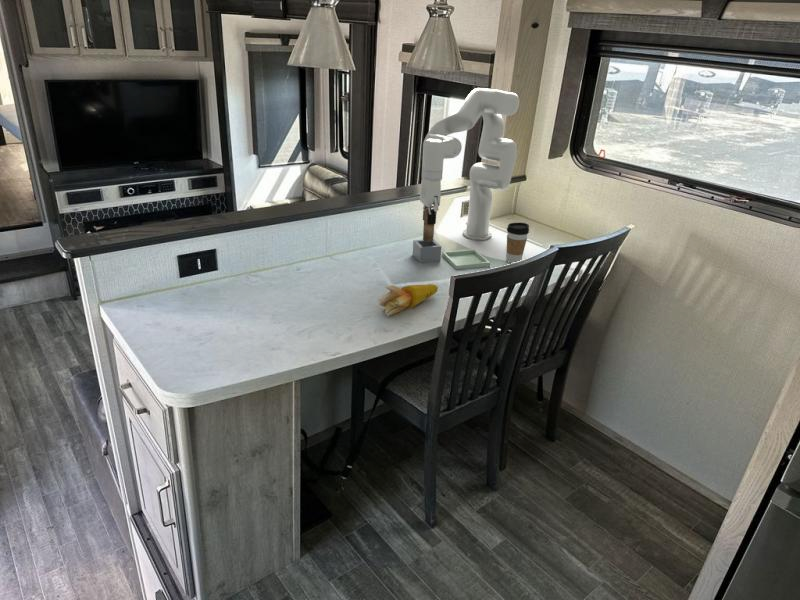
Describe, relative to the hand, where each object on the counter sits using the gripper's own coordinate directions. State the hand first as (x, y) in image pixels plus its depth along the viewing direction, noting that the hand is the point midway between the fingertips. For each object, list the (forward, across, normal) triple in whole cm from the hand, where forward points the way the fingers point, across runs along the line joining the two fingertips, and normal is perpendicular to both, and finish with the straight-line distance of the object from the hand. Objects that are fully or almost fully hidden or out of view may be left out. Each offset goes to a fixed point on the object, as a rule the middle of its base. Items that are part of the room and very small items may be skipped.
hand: (429, 221), depth 218 cm
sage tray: (+16, +6, +14) cm, 22 cm away
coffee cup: (+16, +8, +34) cm, 38 cm away
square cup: (+16, 0, 0) cm, 16 cm away
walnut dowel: (+7, 0, 0) cm, 7 cm away
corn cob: (+16, +37, -20) cm, 44 cm away
